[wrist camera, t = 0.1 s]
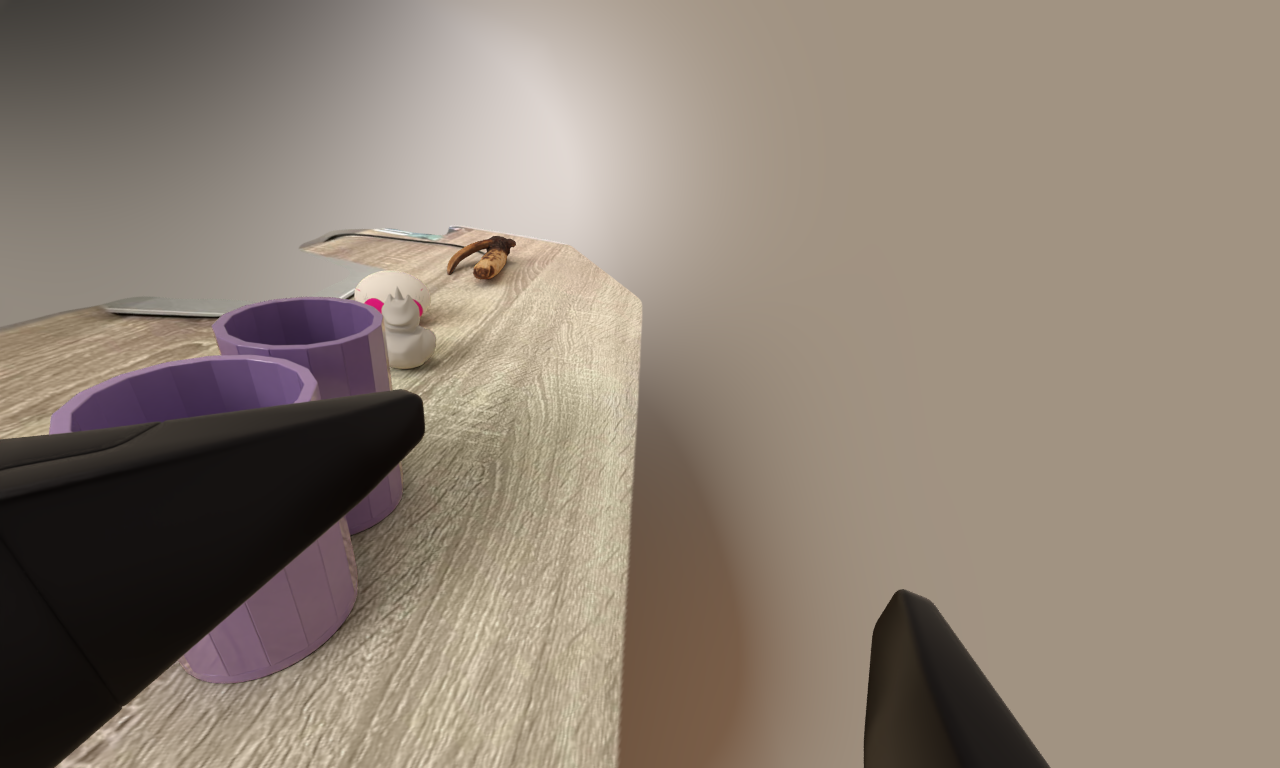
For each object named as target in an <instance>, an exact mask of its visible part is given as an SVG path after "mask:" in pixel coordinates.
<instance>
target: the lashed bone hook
mask: <svg viewBox="0 0 1280 768" xmlns="http://www.w3.org/2000/svg"><path fill="white" fill-rule="evenodd" d="M515 245H516V242H515V241H514V240H512V239H506V238H504V237H500V236H493V237H491V238H489V239H487V240H483V241H478V242H475V243H473V244H470V245H468V246H466V247H464V248H463V249H461V250H459V251H458V252H457V253H456V254H455V255H454V256H453V257H452V258H451V259H450V261H449V263H448V267H447V273H448V274H449V275H450V274H451V273H452V272H453V270H454V269H455V268H456V266H457V265H458V264H459V262H460V261H462V260H463V259H464V258H466V257H468V256H469V255H471V254H473V253H475V252H477V251H479V250H482V249H487V253H486V254H485V255H484V256H483V257H482V258H481V260H480V261H479V262H478V264H476V265H475V267H474V272H473V274H474V276H475V277H476V278H478V279H491V278H492V277H494V276H495V275H497V274H498V273H499V272H500V270H501V269H502V268H503V267H504V265H505V264H506V261H507V256H508V254H509V253H510V248H511V247H515Z"/></svg>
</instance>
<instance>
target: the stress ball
mask: <svg viewBox="0 0 1280 768" xmlns="http://www.w3.org/2000/svg"><path fill="white" fill-rule="evenodd" d="M397 287H398V288H399V290H400V292H401V294H402V297H403V299H406V296H407V295H410V297H411V298H412V299H413V300H414V302H415V303H416V304H417V306H418V307H419V314H420V317H421V316H422V315H423V314H424V313H425V312H426V311H427V310H428V308H429V306H430V302H431V296H430V292H429V290H428V288H427V286H426V285H425V284H424V283H423V282H422V281H421V280H420V279H418V278H417V277H415V276H413V275H411V274H408V273H405V272H401V271H392V270H389V271H380V272H376V273H373V274H371V275H369V276H367V277H365V278H364V279H363V280H362V281H361V282H360V283H359V284H358V285H357V287H356V288H355V289H356V290H355V301H358V302H361V303H364V304H367V305H370V306H373V307H375V308H376V309H377V310H378V311H379V312H380V313H381V314H382V307H383V305H384V303H385V301H386V299H387V297H388V294H391V295H392V297H393V298H395V293H396V288H397Z"/></svg>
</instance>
